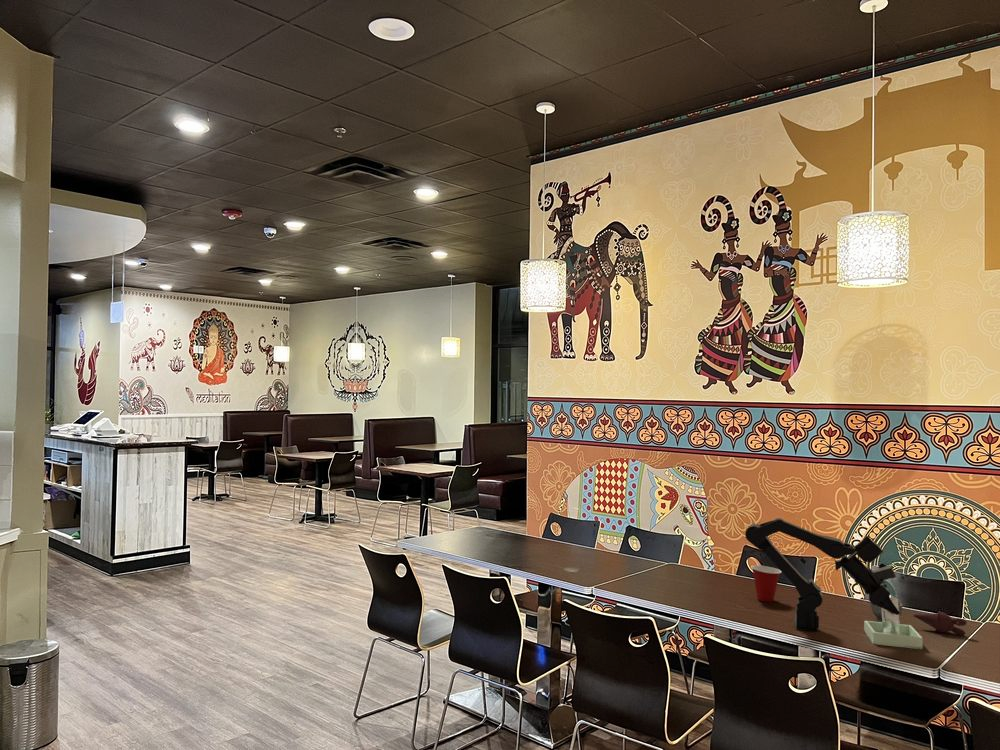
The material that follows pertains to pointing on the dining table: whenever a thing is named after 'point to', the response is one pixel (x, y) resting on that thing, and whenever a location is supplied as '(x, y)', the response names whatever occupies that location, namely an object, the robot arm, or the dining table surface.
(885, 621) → the cylinder with three balls
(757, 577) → the plastic cup
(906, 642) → the pale green bin
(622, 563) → the dining table surface
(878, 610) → the mortar and pestle
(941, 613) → the icecream
